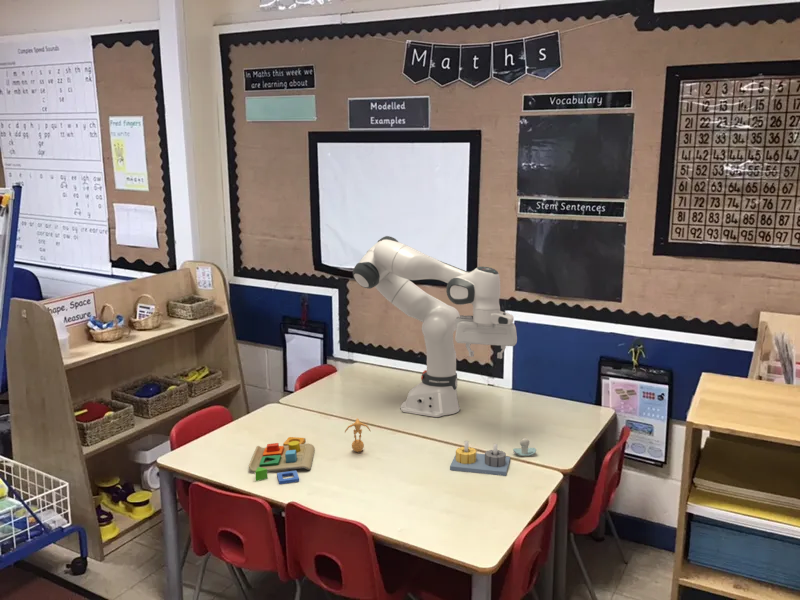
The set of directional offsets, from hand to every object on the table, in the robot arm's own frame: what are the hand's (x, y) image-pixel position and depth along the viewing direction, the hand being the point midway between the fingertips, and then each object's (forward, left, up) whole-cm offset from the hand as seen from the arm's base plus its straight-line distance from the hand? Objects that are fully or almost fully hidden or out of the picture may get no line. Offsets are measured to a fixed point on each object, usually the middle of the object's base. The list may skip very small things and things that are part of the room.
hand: (485, 357), depth 235 cm
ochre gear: (-3, -21, -28) cm, 35 cm away
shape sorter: (-59, -33, -30) cm, 74 cm away
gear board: (+2, -21, -29) cm, 36 cm away
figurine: (-38, -21, -29) cm, 52 cm away
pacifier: (+14, -9, -29) cm, 34 cm away
